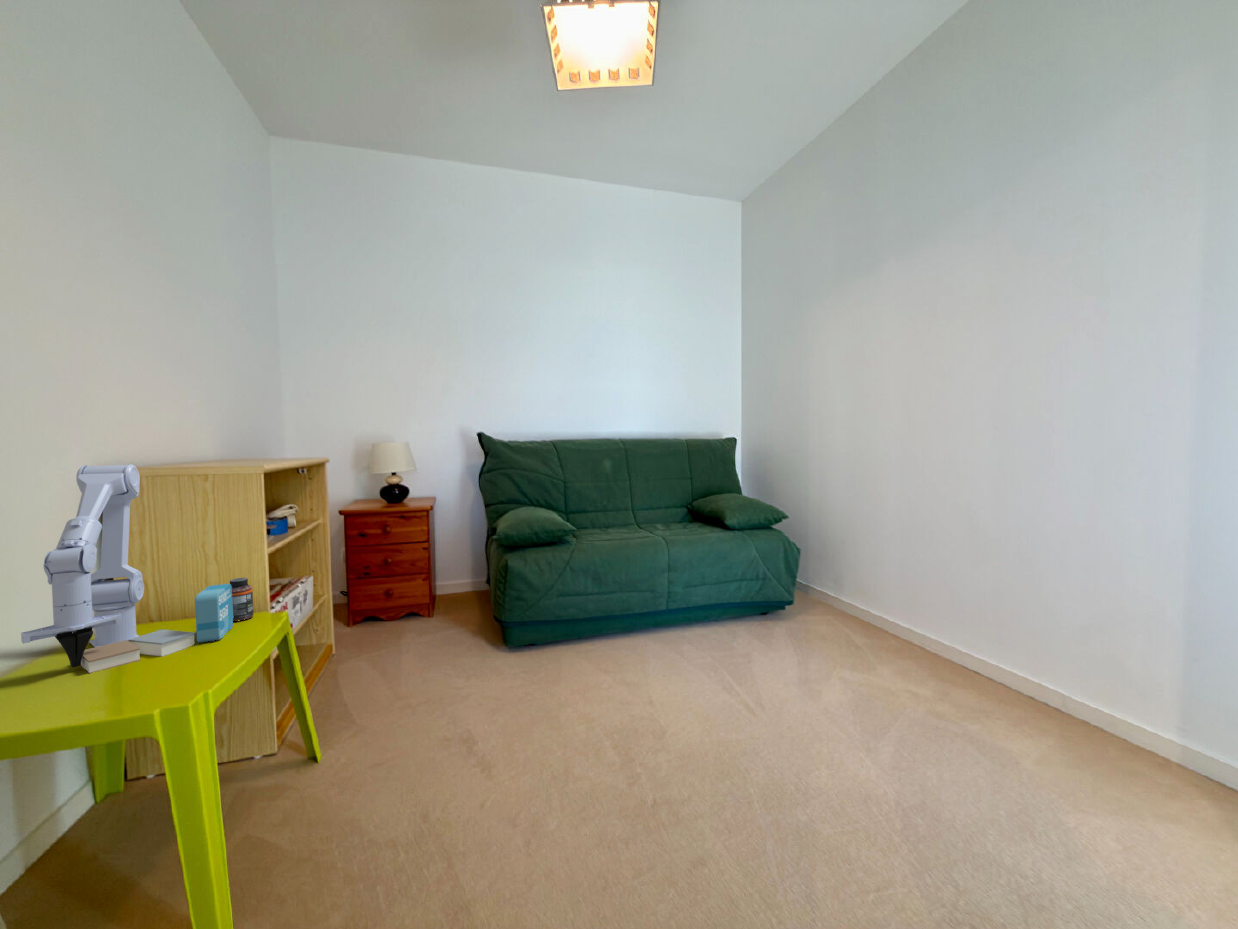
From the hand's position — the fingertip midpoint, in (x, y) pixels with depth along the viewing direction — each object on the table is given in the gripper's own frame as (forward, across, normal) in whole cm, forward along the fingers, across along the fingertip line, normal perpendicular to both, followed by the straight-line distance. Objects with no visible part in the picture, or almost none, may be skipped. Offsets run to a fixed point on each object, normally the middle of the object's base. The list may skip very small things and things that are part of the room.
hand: (75, 665), depth 109 cm
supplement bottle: (+1, +33, +10) cm, 35 cm away
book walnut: (+1, +5, 0) cm, 5 cm away
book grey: (+1, +14, 0) cm, 14 cm away
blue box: (+1, +25, 0) cm, 25 cm away
